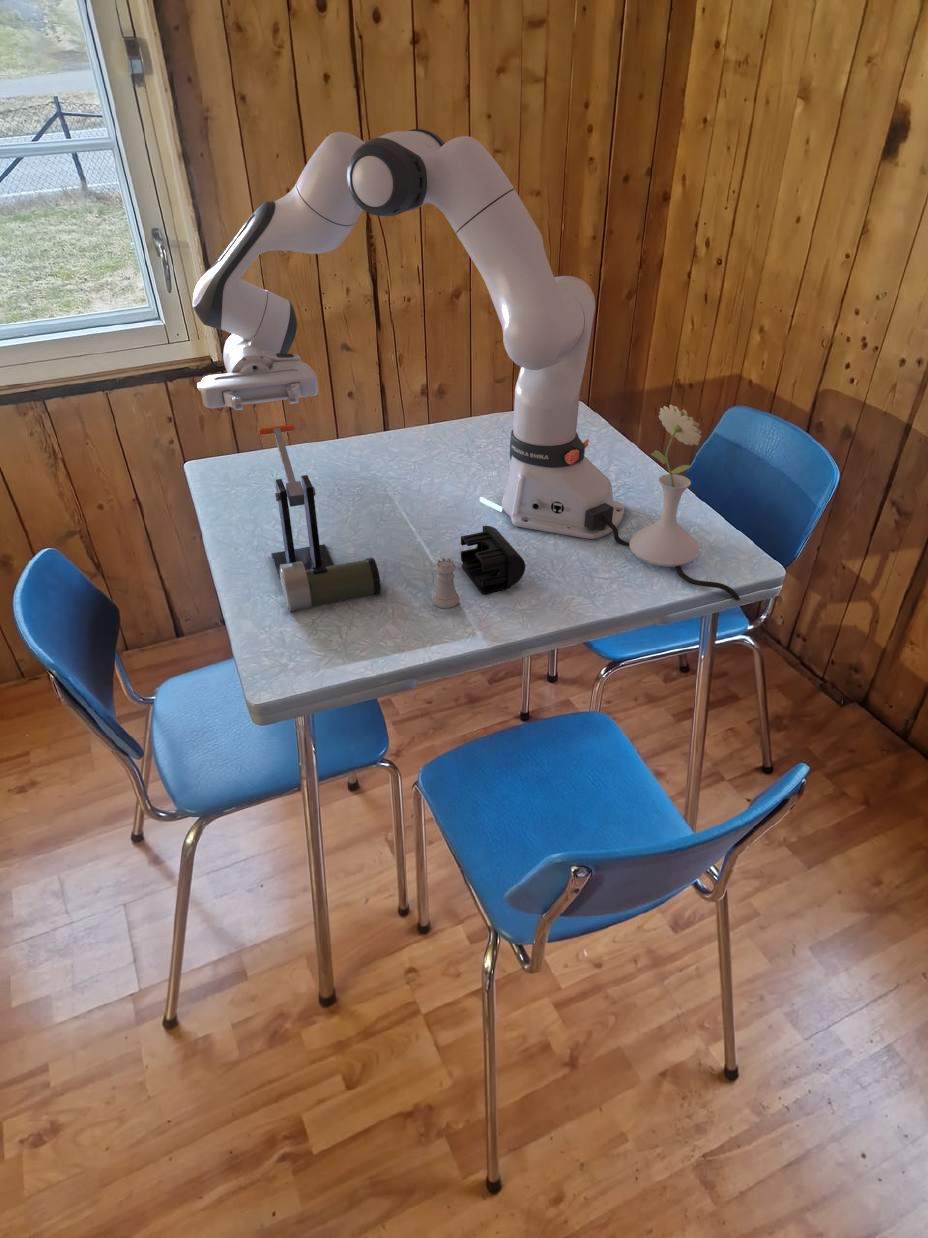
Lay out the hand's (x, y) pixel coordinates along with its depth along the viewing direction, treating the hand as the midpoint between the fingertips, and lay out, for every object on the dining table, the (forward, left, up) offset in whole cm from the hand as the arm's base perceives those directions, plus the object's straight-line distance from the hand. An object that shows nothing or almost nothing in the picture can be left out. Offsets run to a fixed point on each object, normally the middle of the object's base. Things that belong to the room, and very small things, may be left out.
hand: (266, 402), depth 141 cm
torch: (-27, +19, -20) cm, 39 cm away
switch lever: (-13, +11, -5) cm, 17 cm away
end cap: (-45, +1, -20) cm, 49 cm away
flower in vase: (-66, -20, -20) cm, 72 cm away
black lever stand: (-18, +15, -20) cm, 31 cm away
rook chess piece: (-43, +12, -20) cm, 49 cm away
